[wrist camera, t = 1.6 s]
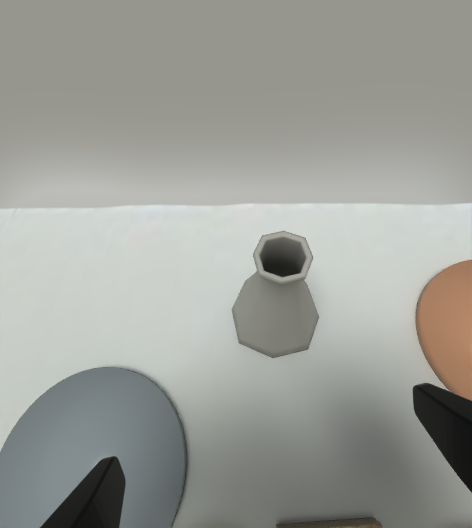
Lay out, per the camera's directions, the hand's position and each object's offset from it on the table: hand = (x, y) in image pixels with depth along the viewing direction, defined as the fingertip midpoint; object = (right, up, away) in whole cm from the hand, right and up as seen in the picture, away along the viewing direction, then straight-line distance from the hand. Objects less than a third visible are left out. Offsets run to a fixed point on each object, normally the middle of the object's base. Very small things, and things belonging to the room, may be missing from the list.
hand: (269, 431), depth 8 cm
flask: (+2, +1, +16) cm, 16 cm away
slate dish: (-11, -9, +11) cm, 18 cm away
